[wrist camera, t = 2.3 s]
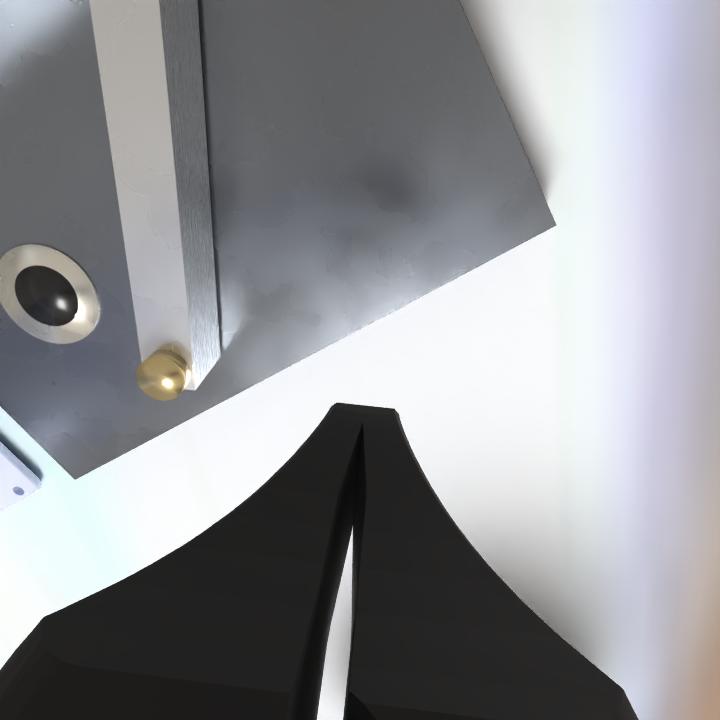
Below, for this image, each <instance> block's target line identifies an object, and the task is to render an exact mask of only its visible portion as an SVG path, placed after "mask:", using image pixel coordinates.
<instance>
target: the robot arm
mask: <svg viewBox="0 0 720 720" xmlns="http://www.w3.org/2000/svg"><path fill="white" fill-rule="evenodd" d="M41 485H42V484H41V481H40V479H39V478H38V477H37V476H36V475H35V474H34V473H33V472H32V471H31V470H30V469H28V468H27V467H26V466H25V465H24V464H23V463H22V462H21V461H20V460H19V459H18V458H17V457H16V456H15V455H14V454H13V453H12V452H11V451H10V450H9V449H7V448H6V447H5V446H4V445H3V444H2V443H1V442H0V512H2V511H3V510H5V509H7V508H9V507H11V506H13V505H15V504H17V503H18V502H20V501H22V500H24V499H26V498H28V497H30V496H32V495H33V494H35V493H36V492H37V491H38V490H39V489H40V488H41ZM352 527H353V563H352V627H351V646H350V658H349V668H348V677H347V687H346V697H345V707H344V717H343V720H638V718H637V716H636V714H635V712H634V710H633V708H632V706H631V704H630V702H629V700H628V698H627V696H626V694H625V692H624V690H623V689H622V688H621V687H620V686H619V685H618V684H616V683H615V682H614V681H613V680H612V679H610V678H609V677H608V676H607V675H606V674H604V673H603V672H602V671H601V670H599V669H598V668H597V667H596V666H595V665H593V664H592V663H591V662H590V661H589V660H587V659H586V658H585V657H584V656H583V655H581V654H580V653H579V652H578V651H577V650H575V649H574V648H573V647H572V646H571V645H569V644H568V643H567V642H566V641H565V640H563V639H562V638H561V637H560V636H559V635H558V634H557V633H555V632H554V631H553V630H552V629H551V628H550V627H549V626H548V625H547V624H546V623H545V622H544V621H543V620H541V619H540V618H539V617H538V616H537V615H536V614H535V613H534V612H533V611H532V610H531V609H530V608H529V607H528V606H527V605H526V604H524V603H523V602H522V601H521V600H520V599H519V597H518V596H517V595H516V594H515V593H514V592H513V591H512V590H511V589H510V588H509V587H508V586H507V585H506V584H505V582H504V581H503V580H502V579H501V578H500V577H499V576H498V575H497V574H496V573H495V572H494V571H493V570H492V569H491V567H490V566H489V565H488V564H487V563H486V562H485V561H484V559H483V558H482V557H481V556H480V554H479V553H478V552H477V551H476V550H475V548H474V547H473V546H472V545H471V543H470V542H469V541H468V540H467V538H466V537H465V536H464V534H463V533H462V532H461V530H460V529H459V528H458V526H457V525H456V524H455V522H454V521H453V519H452V518H451V517H450V515H449V514H448V512H447V511H446V509H445V508H444V506H443V505H442V503H441V501H440V500H439V498H438V497H437V495H436V493H435V492H434V490H433V489H432V487H431V485H430V483H429V482H428V480H427V478H426V476H425V475H424V473H423V471H422V469H421V467H420V465H419V463H418V461H417V459H416V457H415V455H414V453H413V451H412V449H411V447H410V444H409V442H408V440H407V437H406V435H405V432H404V430H403V427H402V424H401V421H400V417H399V414H398V413H397V411H396V410H395V409H391V408H382V407H373V406H364V405H354V404H345V403H336V404H334V405H333V406H331V408H330V409H329V411H328V413H327V414H326V416H325V417H324V418H323V420H322V421H321V423H320V424H319V425H318V427H317V428H316V429H315V430H314V432H313V433H312V434H311V435H310V437H309V438H308V439H307V440H306V441H305V442H304V443H303V445H302V446H301V447H300V448H299V449H298V450H297V451H296V453H295V454H294V455H293V456H292V457H291V458H290V459H289V460H288V461H287V462H286V463H285V464H284V465H283V466H282V467H281V468H280V469H279V470H278V471H277V472H276V473H275V474H274V475H273V476H272V477H271V478H270V479H269V480H268V481H267V482H266V483H265V484H264V485H262V486H261V487H260V488H259V489H258V490H257V491H256V492H255V493H253V494H252V495H251V496H250V497H249V498H247V499H246V500H245V501H244V502H243V503H241V504H240V505H239V506H238V507H236V508H235V509H234V510H233V511H231V512H230V513H229V514H227V515H226V516H225V517H223V518H222V519H220V520H219V521H218V522H216V523H215V524H213V525H212V526H211V527H209V528H208V529H207V530H205V531H204V532H202V533H201V534H199V535H198V536H196V537H195V538H194V539H192V540H191V541H189V542H187V543H186V544H184V545H183V546H181V547H180V548H178V549H176V550H174V551H173V552H171V553H169V554H168V555H166V556H164V557H163V558H161V559H159V560H158V561H156V562H154V563H152V564H151V565H149V566H147V567H145V568H144V569H142V570H140V571H138V572H136V573H135V574H133V575H131V576H129V577H127V578H125V579H123V580H121V581H119V582H117V583H115V584H113V585H111V586H109V587H107V588H105V589H103V590H101V591H99V592H96V593H94V594H92V595H90V596H88V597H86V598H84V599H82V600H80V601H78V602H76V603H73V604H71V605H69V606H67V607H65V608H63V609H61V610H59V611H56V612H54V613H52V614H50V615H47V616H45V617H43V618H42V620H41V621H40V622H39V623H38V625H37V626H36V627H35V628H34V630H33V631H32V632H31V633H30V634H29V635H28V636H27V638H26V639H25V640H24V641H23V642H22V643H21V644H20V646H19V647H18V648H17V649H16V650H15V652H14V653H13V654H12V655H11V657H10V658H9V659H8V661H7V662H6V663H5V665H4V666H3V667H2V669H1V670H0V720H317V713H318V706H319V698H320V691H321V684H322V676H323V669H324V662H325V654H326V647H327V641H328V636H329V631H330V625H331V620H332V616H333V611H334V607H335V603H336V598H337V594H338V589H339V585H340V581H341V576H342V572H343V567H344V563H345V558H346V554H347V550H348V545H349V541H350V536H351V532H352Z"/></svg>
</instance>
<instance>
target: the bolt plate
mask: <svg viewBox="0 0 720 720" xmlns="http://www.w3.org/2000/svg"><path fill="white" fill-rule="evenodd" d="M197 1H198V17H199V32H200V48H201V63H202V79H203V94H204V110H205V125H206V140H207V156H208V171H209V187H210V202H211V218H212V233H213V249H214V264H215V280H216V295H217V310H218V326H219V341H220V358H219V359H218V361H217V362H216V363H215V365H214V366H213V367H212V369H211V370H210V371H209V373H208V374H207V375H206V377H205V378H204V379H203V381H202V382H201V383H200V385H199V386H198V387H197V389H196V390H186V389H183V391H182V392H181V393H180V394H179V395H178V396H177V397H176V398H174V399H172V400H168V401H162V400H157V399H154V398H152V397H150V396H148V395H147V394H146V393H145V392H144V391H143V390H142V389H141V388H140V386H139V385H138V382H137V379H136V372H137V369H138V367H139V365H140V364H141V363H142V362H141V355H140V348H139V341H138V334H137V327H136V320H135V313H134V306H133V299H132V293H131V286H130V279H129V272H128V265H127V258H126V251H125V244H124V237H123V230H122V224H121V217H120V210H119V203H118V196H117V189H116V182H115V175H114V168H113V161H112V154H111V148H110V141H109V134H108V127H107V120H106V113H105V106H104V99H103V92H102V85H101V79H100V72H99V65H98V58H97V51H96V44H95V37H94V30H93V23H92V16H91V9H90V3H89V0H0V406H1V407H2V408H3V409H4V410H5V411H6V412H7V413H8V414H9V415H10V416H11V417H12V418H13V419H14V420H15V421H16V422H17V423H18V424H19V425H20V426H21V427H22V428H23V429H24V430H25V431H26V432H27V433H28V434H29V435H30V436H31V437H32V438H33V439H34V440H35V441H36V442H37V443H38V444H39V445H40V446H41V447H42V448H43V449H44V450H45V451H46V452H47V453H48V454H49V455H50V456H51V457H52V458H53V459H54V460H55V461H56V462H57V463H58V464H59V465H61V466H62V467H63V468H64V469H65V470H66V471H67V472H68V473H69V474H70V475H71V476H72V477H73V478H74V479H77V478H79V477H81V476H83V475H85V474H87V473H89V472H91V471H92V470H94V469H96V468H98V467H100V466H102V465H104V464H106V463H108V462H109V461H111V460H113V459H115V458H117V457H119V456H121V455H123V454H125V453H126V452H128V451H130V450H132V449H134V448H136V447H138V446H140V445H142V444H143V443H145V442H147V441H149V440H151V439H153V438H155V437H157V436H159V435H161V434H162V433H164V432H166V431H168V430H170V429H172V428H174V427H176V426H178V425H179V424H181V423H183V422H185V421H187V420H189V419H191V418H193V417H195V416H196V415H198V414H200V413H202V412H204V411H206V410H208V409H210V408H212V407H213V406H215V405H217V404H219V403H221V402H223V401H225V400H227V399H229V398H231V397H232V396H234V395H236V394H238V393H240V392H242V391H244V390H246V389H248V388H249V387H251V386H253V385H255V384H257V383H259V382H261V381H263V380H265V379H266V378H268V377H270V376H272V375H274V374H276V373H278V372H280V371H282V370H283V369H285V368H287V367H289V366H291V365H293V364H295V363H297V362H299V361H301V360H302V359H304V358H306V357H308V356H310V355H312V354H314V353H316V352H318V351H319V350H321V349H323V348H325V347H327V346H329V345H331V344H333V343H335V342H336V341H338V340H340V339H342V338H344V337H346V336H348V335H350V334H352V333H354V332H355V331H357V330H359V329H361V328H363V327H365V326H367V325H369V324H371V323H372V322H374V321H376V320H378V319H380V318H382V317H384V316H386V315H388V314H389V313H391V312H393V311H395V310H397V309H399V308H401V307H403V306H405V305H406V304H408V303H410V302H412V301H414V300H416V299H418V298H420V297H422V296H424V295H425V294H427V293H429V292H431V291H433V290H435V289H437V288H439V287H441V286H442V285H444V284H446V283H448V282H450V281H452V280H454V279H456V278H458V277H459V276H461V275H463V274H465V273H467V272H469V271H471V270H473V269H475V268H476V267H478V266H480V265H482V264H484V263H486V262H488V261H490V260H492V259H494V258H495V257H497V256H499V255H501V254H503V253H505V252H507V251H509V250H511V249H512V248H514V247H516V246H518V245H520V244H522V243H524V242H526V241H528V240H529V239H531V238H533V237H535V236H537V235H539V234H541V233H543V232H545V231H546V230H548V229H550V228H552V227H554V226H556V223H555V221H554V218H553V216H552V214H551V212H550V209H549V207H548V205H547V202H546V200H545V198H544V195H543V193H542V191H541V188H540V186H539V184H538V181H537V179H536V177H535V175H534V172H533V170H532V168H531V165H530V163H529V161H528V158H527V156H526V154H525V151H524V149H523V147H522V144H521V142H520V140H519V138H518V135H517V133H516V131H515V128H514V126H513V124H512V121H511V119H510V117H509V114H508V112H507V110H506V107H505V105H504V103H503V101H502V98H501V96H500V94H499V91H498V89H497V87H496V84H495V82H494V80H493V77H492V75H491V73H490V71H489V68H488V66H487V64H486V61H485V59H484V57H483V54H482V52H481V50H480V47H479V45H478V43H477V40H476V38H475V36H474V34H473V31H472V29H471V27H470V24H469V22H468V20H467V17H466V15H465V13H464V10H463V8H462V6H461V3H460V1H459V0H197Z"/></svg>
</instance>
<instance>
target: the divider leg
mask: <svg viewBox="0 0 720 720" xmlns="http://www.w3.org/2000/svg"><path fill="white" fill-rule="evenodd" d="M89 3H90V9H91V16H92V23H93V30H94V37H95V44H96V51H97V58H98V65H99V72H100V79H101V85H102V92H103V99H104V106H105V113H106V120H107V127H108V134H109V141H110V148H111V154H112V161H113V168H114V175H115V182H116V189H117V196H118V203H119V210H120V217H121V224H122V230H123V237H124V244H125V251H126V258H127V265H128V272H129V279H130V286H131V293H132V299H133V306H134V313H135V320H136V327H137V334H138V341H139V348H140V355H141V362H142V363H141V364H140V365H139V367H138V369H137V372H136V379H137V382H138V385H139V386H140V388H141V389H142V390H143V391H144V392H145V393H146V394H147V395H148V396H150V397H152V398H154V399H157V400H162V401H168V400H172V399H174V398H176V397H177V396H178V395H179V394H180V393H181V392H182V391H183V389H186V390H196V389H197V387H198V386H199V385H200V383H201V382H202V381H203V379H204V378H205V377H206V375H207V374H208V373H209V371H210V370H211V369H212V367H213V366H214V365H215V363H216V362H217V361H218V359H219V358H220V341H219V326H218V310H217V295H216V280H215V264H214V249H213V233H212V218H211V202H210V187H209V171H208V156H207V140H206V125H205V110H204V94H203V79H202V63H201V48H200V32H199V17H198V1H197V0H89Z"/></svg>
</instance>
